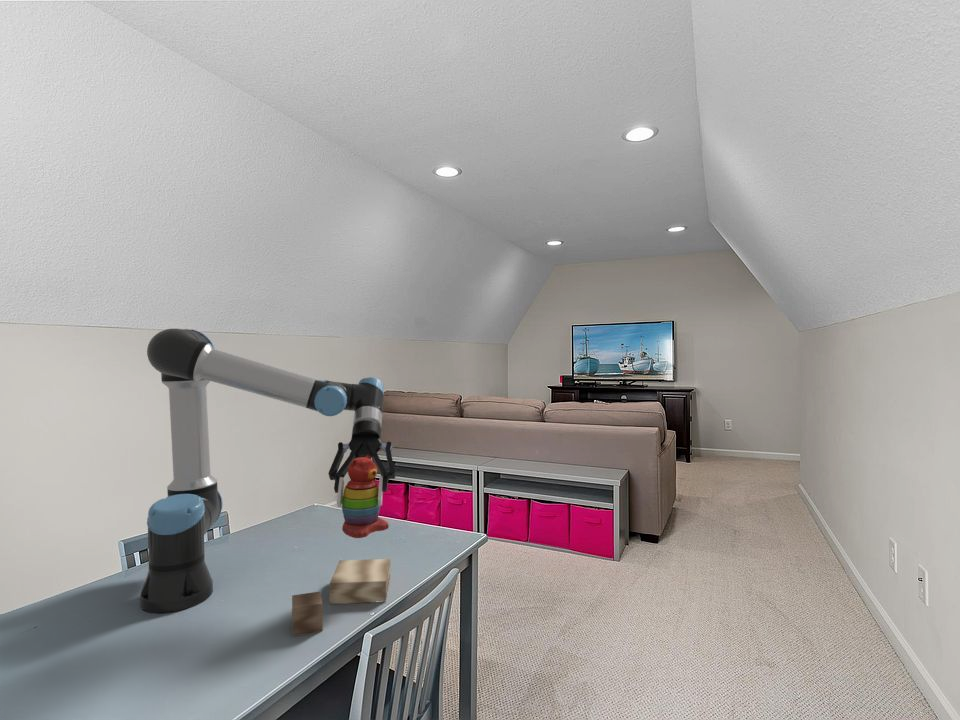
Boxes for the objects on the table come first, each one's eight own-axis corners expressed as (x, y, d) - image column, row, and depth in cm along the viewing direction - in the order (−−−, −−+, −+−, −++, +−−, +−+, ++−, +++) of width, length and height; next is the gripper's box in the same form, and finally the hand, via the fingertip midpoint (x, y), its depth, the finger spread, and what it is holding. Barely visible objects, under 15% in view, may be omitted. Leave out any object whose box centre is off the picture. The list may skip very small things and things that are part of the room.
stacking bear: (358, 540, 123) (358, 464, 122) (331, 530, 129) (331, 458, 128) (392, 527, 131) (393, 456, 131) (365, 519, 137) (366, 451, 137)
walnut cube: (292, 636, 110) (292, 608, 109) (292, 622, 115) (292, 595, 115) (322, 631, 112) (322, 603, 112) (320, 617, 117) (320, 591, 117)
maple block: (329, 604, 123) (329, 583, 123) (339, 579, 136) (339, 560, 136) (385, 601, 124) (385, 581, 124) (390, 577, 137) (390, 558, 137)
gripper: (408, 434, 146) (405, 509, 130) (328, 435, 144) (315, 512, 128) (407, 418, 140) (404, 494, 125) (323, 419, 138) (310, 496, 123)
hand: (359, 503), depth 126 cm, fingers closed on stacking bear, 9 cm apart
